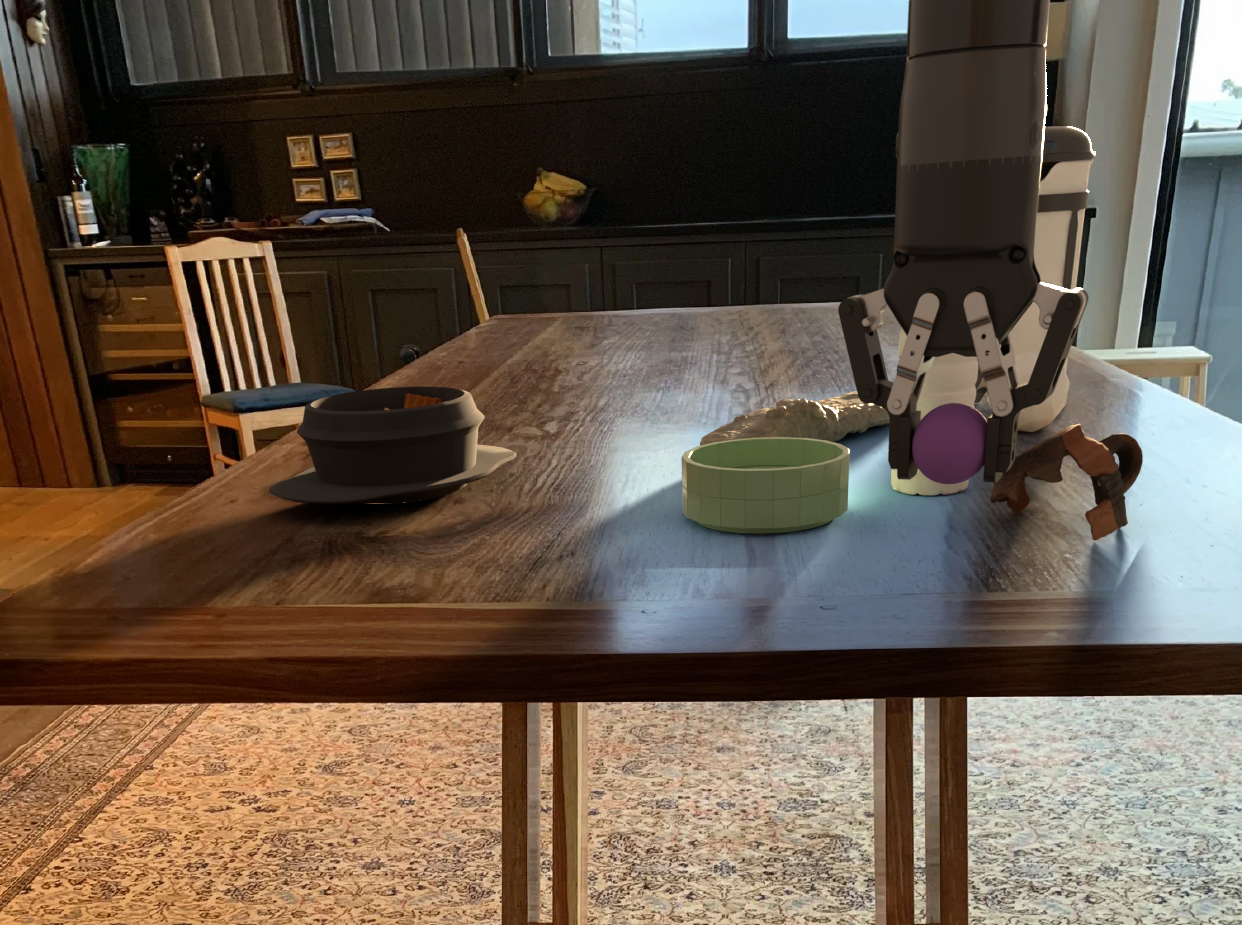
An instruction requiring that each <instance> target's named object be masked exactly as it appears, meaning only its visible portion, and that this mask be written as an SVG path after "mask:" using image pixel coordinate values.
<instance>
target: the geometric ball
mask: <svg viewBox="0 0 1242 925" xmlns="http://www.w3.org/2000/svg"><path fill="white" fill-rule="evenodd" d="M1038 355H1039V352H1036V351H1022V352H1020V353H1018V354H1016V355H1015V369H1016V373H1017V377H1018V382H1019V385H1021V384H1024V383H1027V382H1029V380H1030V377H1031V374H1032V372H1033V369H1034V366H1035V363H1036V361H1037V358H1038ZM1070 385H1071V382H1070V379H1069V377H1068V375H1067V371H1066V372H1065V370H1064V368H1063V369H1062V372H1061V374H1060V377H1059V379H1058V382H1057V385H1056V387H1055V390H1054V392H1053V393H1052V395H1050V396H1049V397H1048V398H1047V399H1046V400H1045V401H1044V402H1042V403H1041V404H1039V405H1033V406H1030V407H1027V408H1024V409H1022V410H1021V412H1020V414H1019V419H1018V430H1017V432H1024V433H1025V432H1026V433H1034V432H1037V431H1038V430H1040V429H1043V428H1044V427H1047V426H1048V425H1051V423H1052V422H1053V421H1054V420H1055V419H1056V418H1057V417H1058V415H1059V414H1060V413H1061V412H1062V410H1063V409H1064V408H1065V407H1066V404H1067V399H1068V396H1069V391H1070V390H1069V389H1070ZM986 401H987V404H988V406H989V407H990V410H991V412H992V413H993V411H992V409H991V404H990V400H989V396H988V395H987V399H986Z"/></svg>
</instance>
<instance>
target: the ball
mask: <svg viewBox="0 0 1242 925" xmlns="http://www.w3.org/2000/svg"><path fill="white" fill-rule="evenodd" d="M986 433H987V418H986V417H985V416H984V414H983V413H982V412H981V411H979V409H976V407H975V408H974V407H971V406H969V405H966V404H963V403H948V404H944V405H941V406H938V407H936V408H934V409H933V410H931V411H930V412H929V413H927V414H926V415H925V416H924V417H923V418H922V419H921V421H920V422H919V424H918V426H917V427H916V430H915V432H914V435H913V439H912V455H913V458H914V461H915V464H916V466H917V467H918V469H919V470H920V471H921V473H922V474H923V475H925V476H926V477H927V478H929V479H930V480H932V481H934V482H937V483H941V484H957V483H961V482H964V481H966V480H968V479H969V480H970V479H972V478H974V477H975V476H976V475H977V474H978V473H979V472H980V471H982V469H983V468H984V460H985V446H986Z"/></svg>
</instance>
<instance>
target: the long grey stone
mask: <svg viewBox="0 0 1242 925" xmlns="http://www.w3.org/2000/svg"><path fill="white" fill-rule="evenodd" d="M775 406H776V407H770V408H765V407H764V408H763V407H762V408H760V409H757V410H754V411H752V412H749V413H746V414H742V415H739V416H735V417H734V418H733V420H732V421H731V422H728V423H726V424H724V425H721V426H720V427H718V428H716V429H714V430H713V431H710V432H709V433H707V434H705V435H704V436H702V437H701V440H700V441H699V446H702V445H706V444H710V443H714V442H721V441H728V440H735V439H748V438H767V437H791V438H810V439H818V440H826V441H830V442H834V443H835V442H839V441H841V439H843V438H845V437H846V436H847V434H848V433H851V434H854V433H859V434H862V433H864V432H866V431H867V430H868V429H869V428H871V427H872V428H873V427H876V426H877V427H881V426H884V425H889V423H890V418H889V414H888V412H887V411H886V410H885V409H884V408H882V407H880V406H878V405H875V404H873V403H869V404H866V403H863V402H862V401H861V400H860V399H859V397H858V393H857V390H856V391H855V390H854V391H850V392H847V393H843V394H841V395H839V396H834V397H829V398H823V399H820V400H816V401H814V400H807V399H806V398H805V397H803V398H801V399H799V398H796V399H790V398H785V399H780V400H778V401H775Z"/></svg>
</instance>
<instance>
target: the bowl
mask: <svg viewBox="0 0 1242 925" xmlns="http://www.w3.org/2000/svg"><path fill="white" fill-rule="evenodd" d="M850 454H851V450H850V447H849V448H848V447H847V446H845V444H844V445H843V444H842V443H838V442H835V441H834V442H830V441H826V440H818V439H810V438H791V437H767V438H748V439H735V440H728V441H721V442H714V443H710V444H706V445H702V446H700V445H697V446H695V447H692V448H691V449H688V450H686V451H684V453H683V454H682V456H681V492H682V493H681V495H682V497H681V498H682V514H684V515H685V517H686V518H687V519H689V520H692V521H693V522H696V523H697V524H699V525H700V526H702V527H705V528H707V529H711V530H714V531H719V532H725V531H726V533H736V534H753V535H755V534H756V535H758V534H759V535H761V534H763V535H764V534H765V535H766V534H782V533H792V532H800V531H804V530H805V531H806V530H810V529H814V528H818V527H821V526H824V525H826V524H828V523H830V522H832V521H833V520H834V519H836V518H838V517H841V516H842V515H844V513H846V512H847V511H848V509H849V508H848V507H849V480H850Z"/></svg>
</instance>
